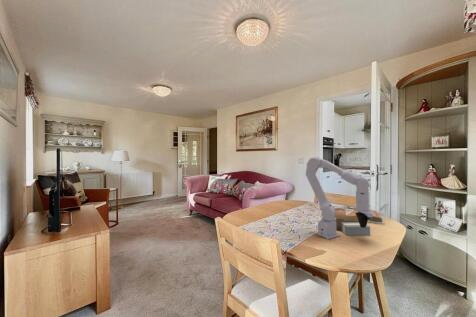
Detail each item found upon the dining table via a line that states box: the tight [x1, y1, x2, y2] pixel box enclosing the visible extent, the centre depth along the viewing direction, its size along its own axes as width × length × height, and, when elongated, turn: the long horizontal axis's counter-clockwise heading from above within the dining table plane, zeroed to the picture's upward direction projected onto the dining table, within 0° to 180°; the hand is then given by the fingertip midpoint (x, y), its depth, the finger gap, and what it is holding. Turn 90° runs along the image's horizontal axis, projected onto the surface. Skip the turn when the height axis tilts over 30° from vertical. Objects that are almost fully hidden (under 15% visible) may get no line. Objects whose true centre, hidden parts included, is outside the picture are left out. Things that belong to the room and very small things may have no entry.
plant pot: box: [334, 207, 347, 216], centre depth 142 cm, size 7×7×7 cm
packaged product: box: [367, 210, 386, 225], centre depth 140 cm, size 18×5×10 cm
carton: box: [340, 222, 371, 237], centre depth 118 cm, size 8×12×5 cm, turn 86°
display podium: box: [334, 215, 359, 231], centre depth 124 cm, size 5×18×7 cm, turn 86°
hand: (362, 227), depth 108 cm, fingers closed
